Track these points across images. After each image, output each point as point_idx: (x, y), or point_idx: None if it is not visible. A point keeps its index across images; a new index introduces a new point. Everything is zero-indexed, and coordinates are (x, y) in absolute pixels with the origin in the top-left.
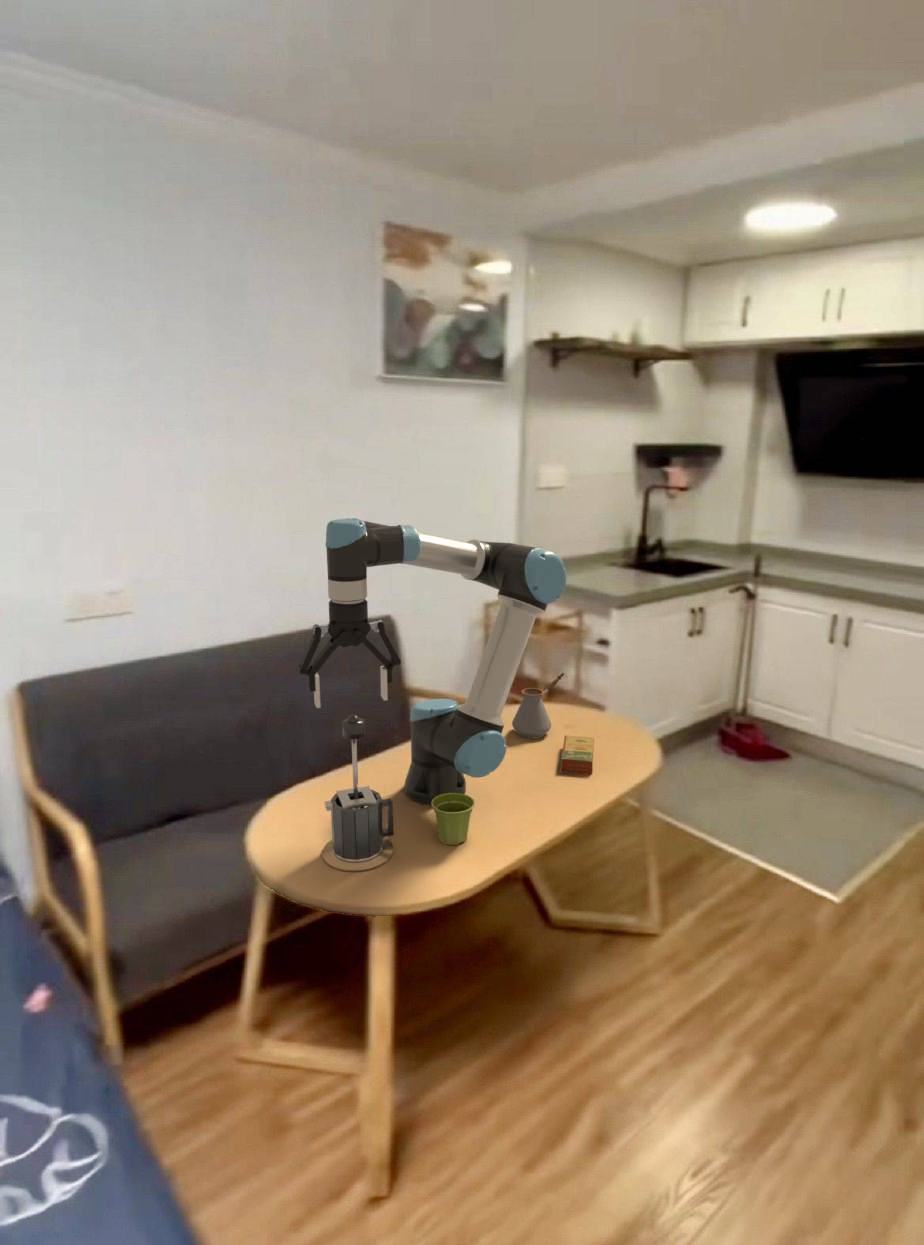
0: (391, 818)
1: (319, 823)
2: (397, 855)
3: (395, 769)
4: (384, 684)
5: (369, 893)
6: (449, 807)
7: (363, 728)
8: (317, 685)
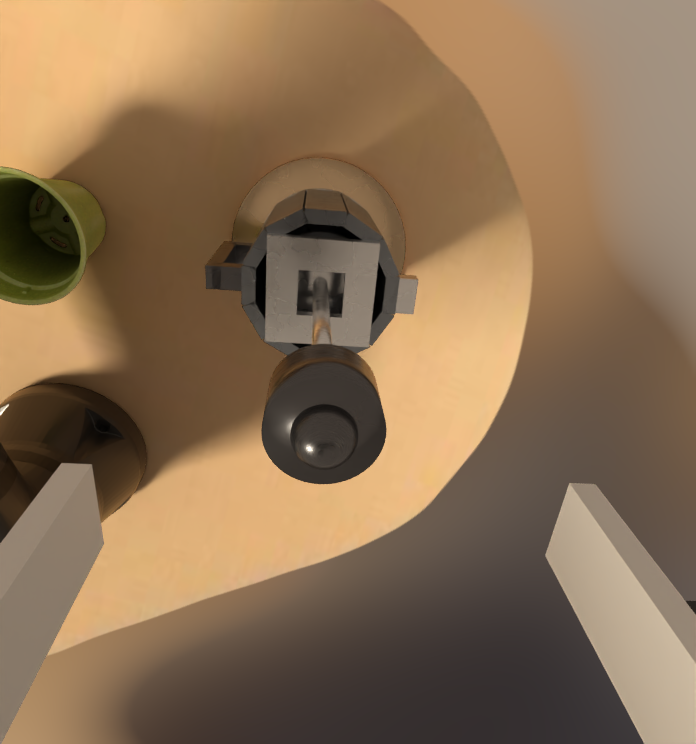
0: (221, 252)
1: None
2: (230, 196)
3: (146, 558)
4: (14, 567)
5: (345, 44)
6: (39, 279)
7: (277, 380)
8: (693, 632)
